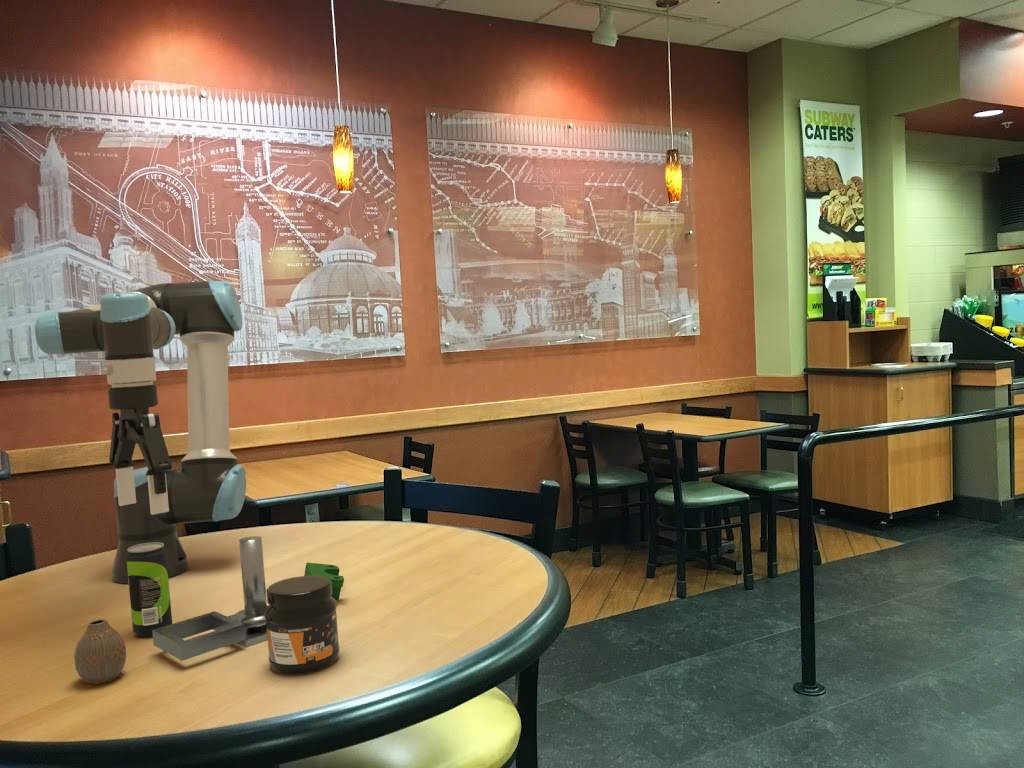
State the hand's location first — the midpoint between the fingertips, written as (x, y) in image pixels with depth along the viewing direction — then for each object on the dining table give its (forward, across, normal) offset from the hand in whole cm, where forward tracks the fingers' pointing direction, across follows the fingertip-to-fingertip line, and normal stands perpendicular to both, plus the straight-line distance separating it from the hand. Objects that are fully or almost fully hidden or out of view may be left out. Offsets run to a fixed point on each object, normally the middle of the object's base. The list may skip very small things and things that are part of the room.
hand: (143, 508), depth 139 cm
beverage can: (+22, 0, 0) cm, 22 cm away
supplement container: (+22, +34, +9) cm, 41 cm away
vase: (+22, +14, -13) cm, 29 cm away
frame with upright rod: (+22, +16, +5) cm, 27 cm away
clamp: (+22, +10, +28) cm, 37 cm away
